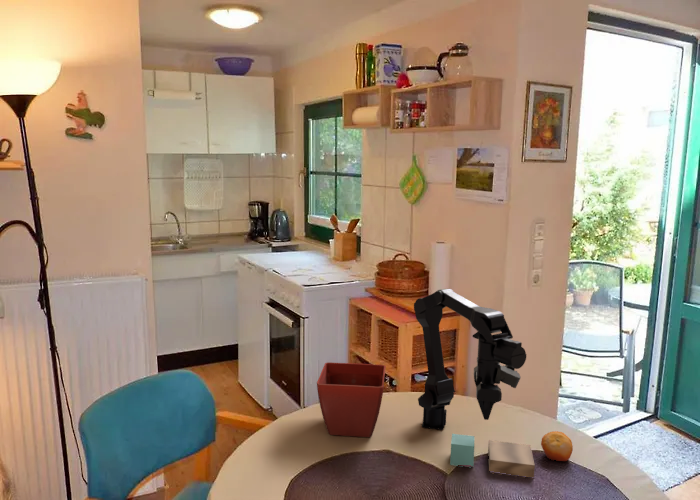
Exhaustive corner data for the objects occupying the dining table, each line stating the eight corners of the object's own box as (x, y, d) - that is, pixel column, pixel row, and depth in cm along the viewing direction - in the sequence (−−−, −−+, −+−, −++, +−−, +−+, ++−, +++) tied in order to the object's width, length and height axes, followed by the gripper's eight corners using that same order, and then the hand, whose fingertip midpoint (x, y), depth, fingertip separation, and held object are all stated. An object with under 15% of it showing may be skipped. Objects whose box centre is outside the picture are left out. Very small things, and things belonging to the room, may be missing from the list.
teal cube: (450, 465, 148) (451, 443, 147) (451, 454, 154) (452, 433, 153) (473, 468, 147) (474, 446, 146) (473, 456, 152) (474, 436, 152)
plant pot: (324, 411, 179) (325, 361, 177) (384, 415, 177) (385, 364, 175) (315, 439, 160) (316, 383, 158) (381, 444, 158) (383, 387, 156)
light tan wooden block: (489, 474, 144) (490, 459, 144) (488, 453, 155) (488, 440, 154) (533, 480, 142) (534, 465, 142) (529, 458, 153) (530, 444, 152)
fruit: (571, 445, 157) (573, 428, 152) (571, 471, 151) (573, 454, 146) (540, 440, 159) (542, 424, 154) (539, 465, 153) (541, 449, 149)
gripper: (523, 371, 140) (519, 430, 142) (515, 348, 158) (511, 401, 161) (478, 368, 142) (475, 426, 144) (474, 346, 160) (472, 397, 162)
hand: (485, 412), depth 153 cm, fingers open, 9 cm apart
